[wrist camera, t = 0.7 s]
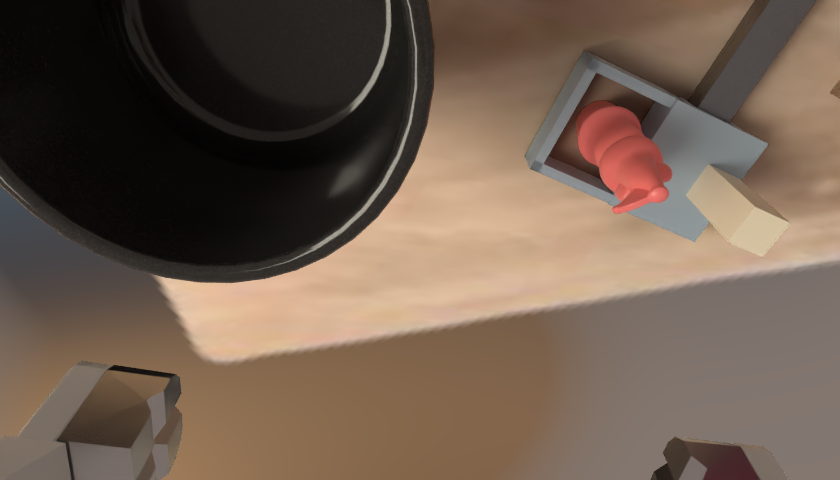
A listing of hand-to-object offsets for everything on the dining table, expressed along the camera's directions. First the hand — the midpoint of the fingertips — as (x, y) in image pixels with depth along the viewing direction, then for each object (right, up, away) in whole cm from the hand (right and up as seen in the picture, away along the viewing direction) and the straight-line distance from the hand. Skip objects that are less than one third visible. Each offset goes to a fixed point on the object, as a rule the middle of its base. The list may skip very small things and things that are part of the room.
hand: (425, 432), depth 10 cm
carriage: (+18, +11, +41) cm, 46 cm away
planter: (-9, +22, +36) cm, 44 cm away
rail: (+24, +16, +39) cm, 48 cm away
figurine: (+15, +13, +41) cm, 45 cm away
